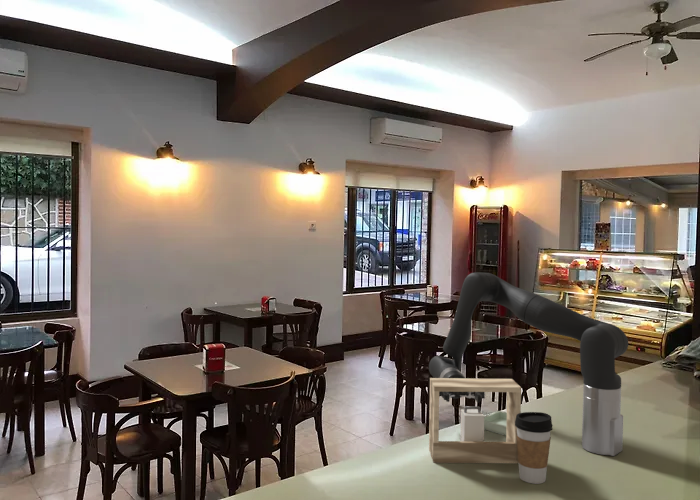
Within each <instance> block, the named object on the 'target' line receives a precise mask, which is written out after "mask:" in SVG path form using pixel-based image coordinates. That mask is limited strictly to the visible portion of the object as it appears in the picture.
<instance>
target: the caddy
mask: <svg viewBox="0 0 700 500" xmlns="http://www.w3.org/2000/svg"><path fill="white" fill-rule="evenodd" d="M484 416H485V415H484V413H483V412H482V408H481V407H480V406H478V405H477V406H476V405H475V406H467V405H465V406H464V407H463V408H461V409H460V438H459V439H460V440H459V441H479V442H485V430H484Z"/></svg>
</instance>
